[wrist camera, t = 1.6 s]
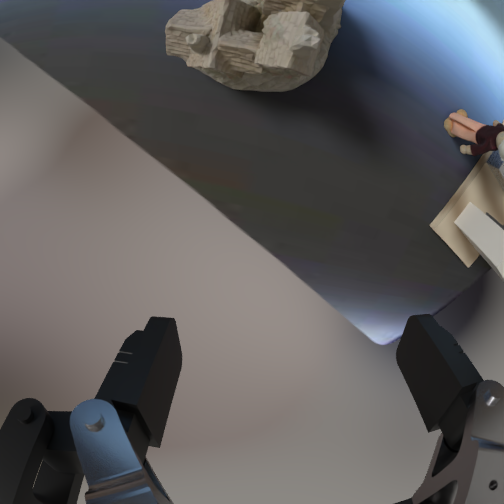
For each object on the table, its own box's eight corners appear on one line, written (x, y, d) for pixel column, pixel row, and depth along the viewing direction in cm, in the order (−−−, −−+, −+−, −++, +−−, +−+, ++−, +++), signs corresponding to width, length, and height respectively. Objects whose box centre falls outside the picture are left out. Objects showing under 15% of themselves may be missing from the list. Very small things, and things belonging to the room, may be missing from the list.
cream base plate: (505, 117, 23) (512, 119, 22) (532, 169, 26) (537, 172, 25) (429, 225, 34) (434, 230, 32) (464, 262, 37) (468, 267, 35)
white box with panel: (472, 198, 29) (519, 238, 20) (492, 228, 31) (532, 268, 22) (453, 222, 31) (496, 267, 22) (475, 249, 33) (512, 293, 24)
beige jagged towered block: (358, 6, 20) (405, -42, 7) (294, 117, 28) (297, 139, 16) (232, -43, 17) (193, -105, 5) (171, 65, 26) (93, 61, 14)
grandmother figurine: (461, 96, 23) (530, 114, 13) (475, 119, 25) (541, 144, 14) (429, 131, 27) (494, 160, 16) (444, 153, 28) (507, 190, 17)
